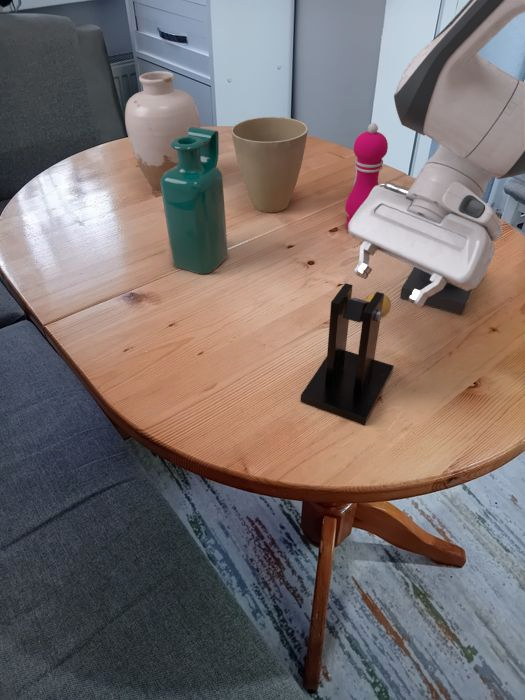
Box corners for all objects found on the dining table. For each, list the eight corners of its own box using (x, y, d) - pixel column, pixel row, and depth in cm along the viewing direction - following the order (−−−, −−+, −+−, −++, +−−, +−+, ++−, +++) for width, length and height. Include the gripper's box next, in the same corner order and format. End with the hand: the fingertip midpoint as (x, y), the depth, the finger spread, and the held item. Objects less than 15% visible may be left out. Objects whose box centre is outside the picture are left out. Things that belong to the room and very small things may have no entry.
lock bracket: (332, 353, 78) (340, 265, 68) (392, 372, 75) (409, 283, 65) (300, 402, 71) (303, 312, 61) (365, 425, 68) (379, 334, 58)
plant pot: (318, 199, 116) (321, 123, 106) (281, 227, 107) (281, 147, 97) (260, 184, 123) (258, 111, 112) (221, 210, 113) (215, 133, 103)
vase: (176, 203, 116) (161, 90, 101) (122, 188, 123) (100, 80, 108) (219, 177, 126) (210, 70, 111) (166, 164, 133) (152, 62, 118)
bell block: (420, 263, 96) (424, 243, 93) (478, 277, 92) (483, 257, 90) (399, 298, 88) (403, 278, 85) (461, 315, 84) (467, 294, 82)
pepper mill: (341, 234, 104) (349, 129, 91) (345, 217, 110) (354, 115, 97) (379, 238, 103) (393, 131, 90) (381, 220, 108) (395, 117, 95)
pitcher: (208, 277, 94) (195, 152, 80) (168, 266, 97) (148, 143, 83) (235, 251, 101) (228, 131, 86) (197, 241, 104) (183, 124, 89)
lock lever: (365, 313, 77) (371, 289, 76) (389, 320, 76) (396, 295, 75) (335, 320, 64) (343, 291, 63) (363, 329, 63) (372, 299, 62)
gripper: (371, 167, 76) (320, 253, 77) (505, 215, 64) (442, 315, 65) (387, 188, 81) (339, 268, 82) (514, 236, 69) (455, 328, 70)
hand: (385, 289), depth 74 cm, fingers open, 8 cm apart
